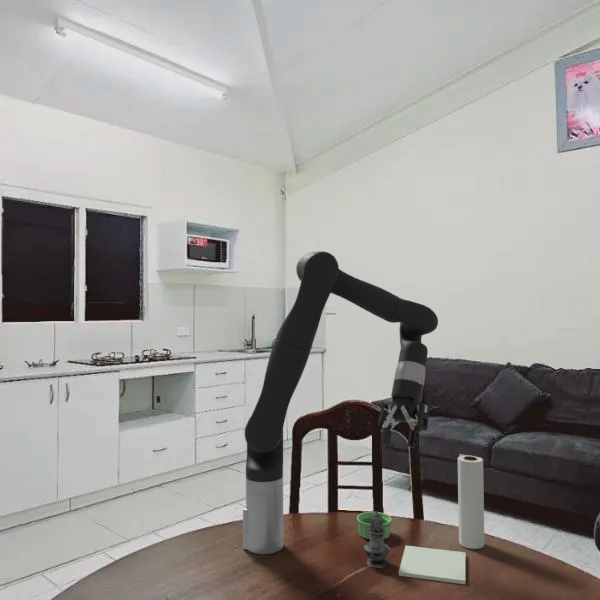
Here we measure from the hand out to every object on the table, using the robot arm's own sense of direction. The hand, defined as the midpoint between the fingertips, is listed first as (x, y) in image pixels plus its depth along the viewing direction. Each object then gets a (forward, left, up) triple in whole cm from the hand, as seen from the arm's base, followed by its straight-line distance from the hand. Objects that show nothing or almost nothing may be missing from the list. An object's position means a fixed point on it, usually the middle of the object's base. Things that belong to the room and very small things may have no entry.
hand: (398, 446), depth 132 cm
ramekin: (-7, +7, -25) cm, 27 cm away
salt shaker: (-4, -8, -25) cm, 27 cm away
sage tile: (+8, -6, -25) cm, 27 cm away
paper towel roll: (+17, +9, -25) cm, 32 cm away
